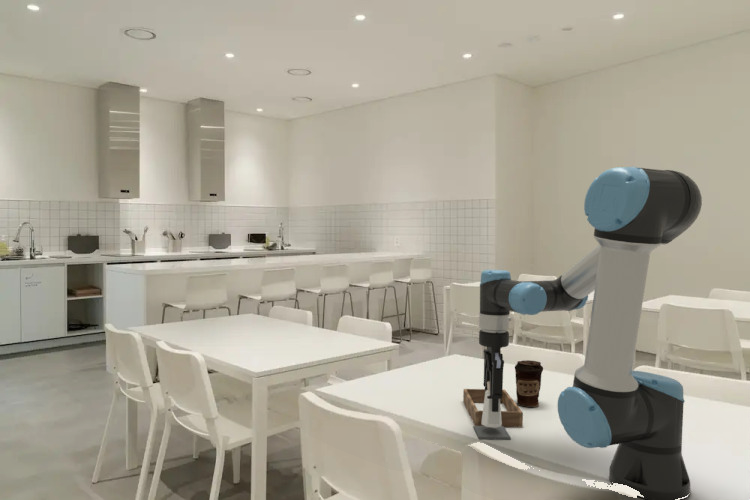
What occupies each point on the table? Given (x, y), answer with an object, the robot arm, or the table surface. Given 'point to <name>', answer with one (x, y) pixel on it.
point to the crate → (508, 417)
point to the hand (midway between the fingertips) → (491, 419)
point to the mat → (492, 433)
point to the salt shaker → (486, 408)
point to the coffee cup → (528, 382)
